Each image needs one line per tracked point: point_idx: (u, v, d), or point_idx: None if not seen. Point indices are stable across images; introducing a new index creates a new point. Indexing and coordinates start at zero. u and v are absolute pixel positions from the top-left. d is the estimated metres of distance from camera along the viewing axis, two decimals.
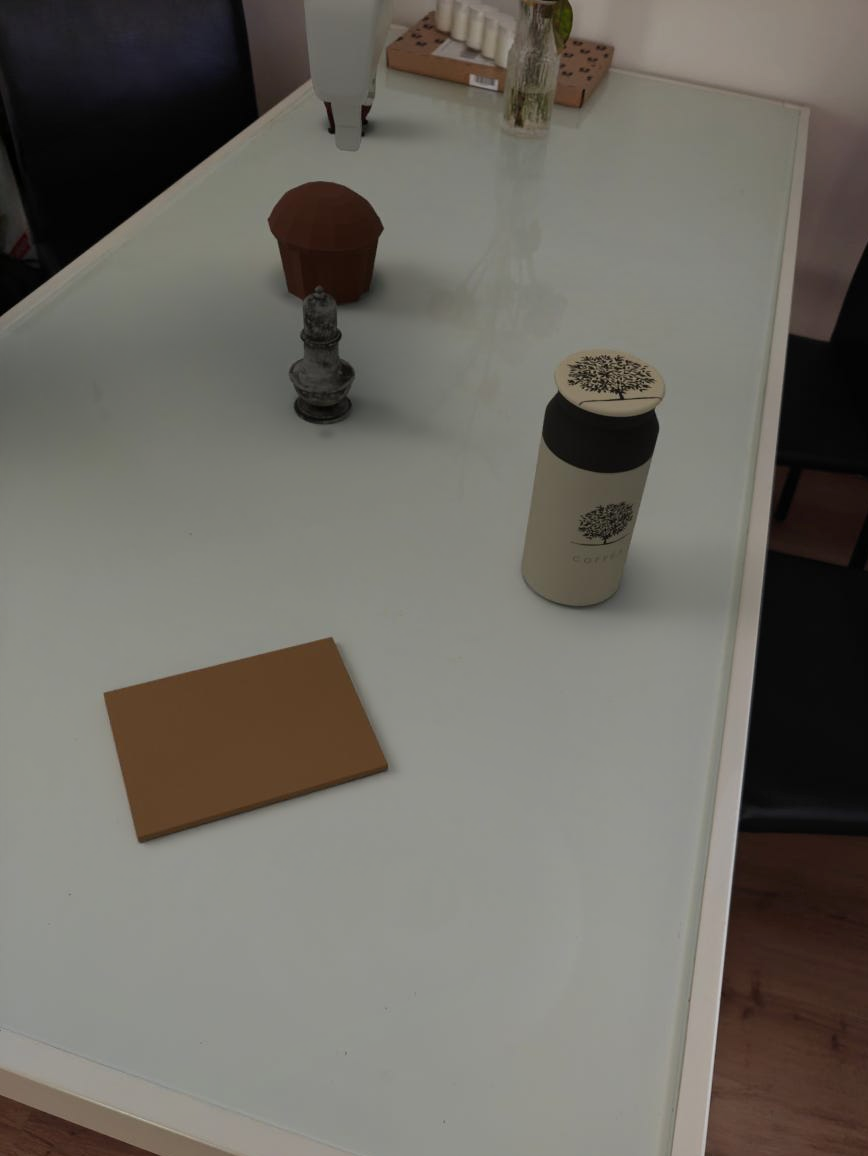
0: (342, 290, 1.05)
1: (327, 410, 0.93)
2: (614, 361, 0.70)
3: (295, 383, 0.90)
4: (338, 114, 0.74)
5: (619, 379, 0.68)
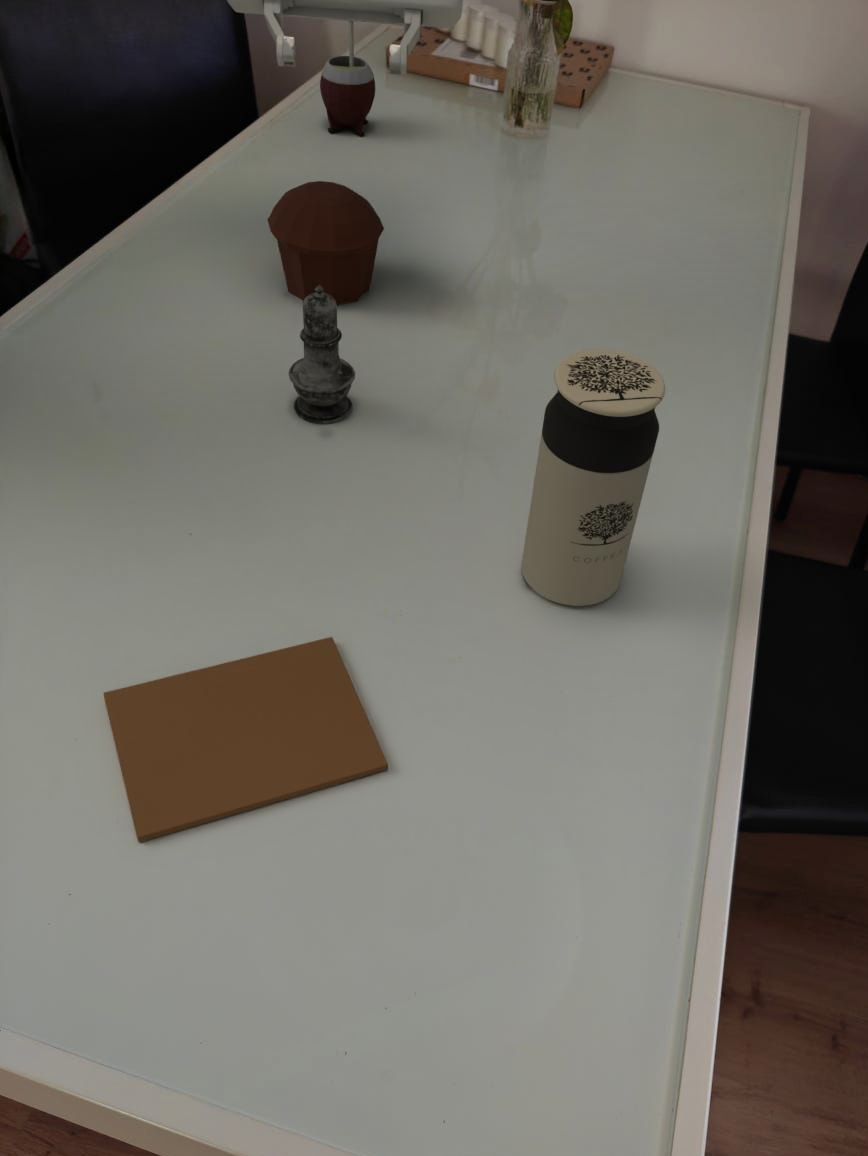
0: (342, 290, 1.05)
1: (327, 410, 0.93)
2: (614, 361, 0.70)
3: (295, 383, 0.90)
4: (415, 35, 0.87)
5: (619, 379, 0.68)
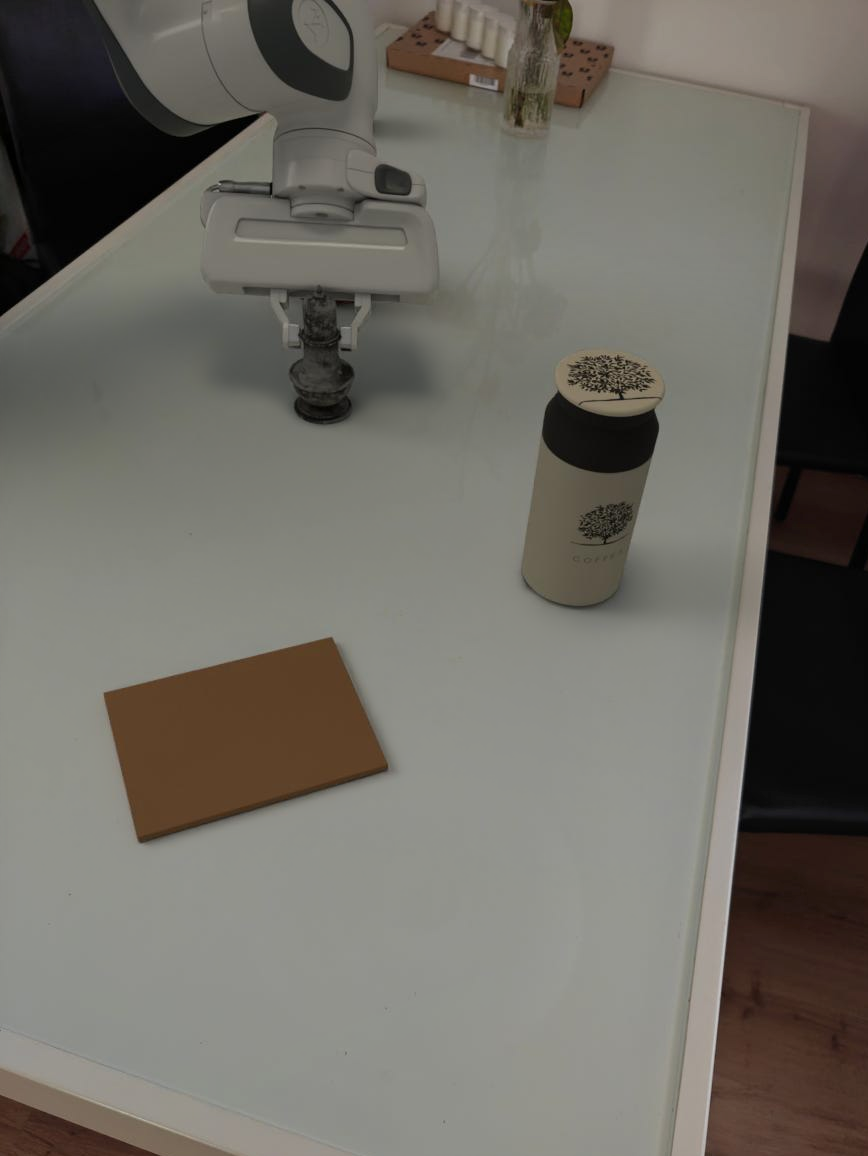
0: None
1: (327, 410, 0.93)
2: (614, 361, 0.70)
3: (295, 383, 0.90)
4: (366, 316, 0.88)
5: (619, 379, 0.68)
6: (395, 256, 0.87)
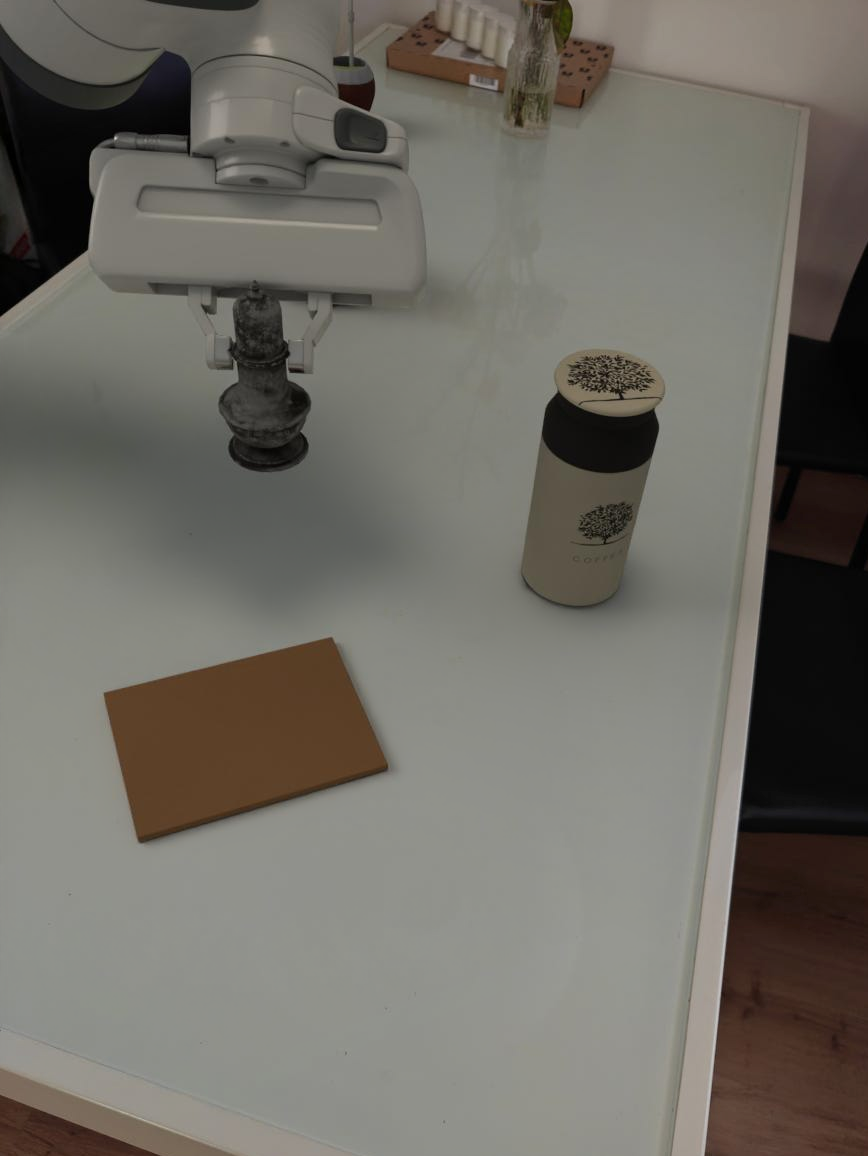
0: None
1: (273, 453, 0.67)
2: (614, 361, 0.70)
3: (226, 417, 0.64)
4: (324, 325, 0.63)
5: (619, 379, 0.68)
6: (364, 240, 0.62)
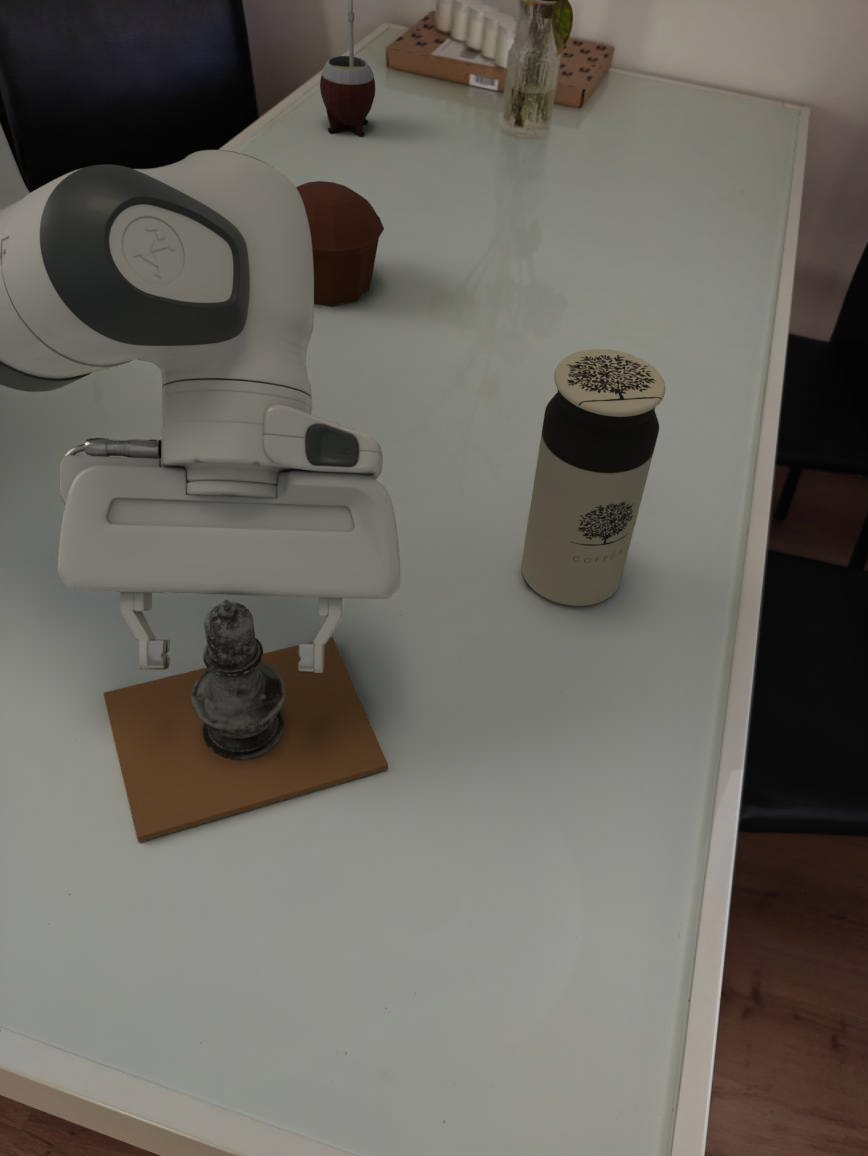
0: (342, 290, 1.05)
1: (247, 738, 0.67)
2: (614, 361, 0.70)
3: (199, 715, 0.64)
4: (335, 627, 0.63)
5: (619, 379, 0.68)
6: (336, 547, 0.61)
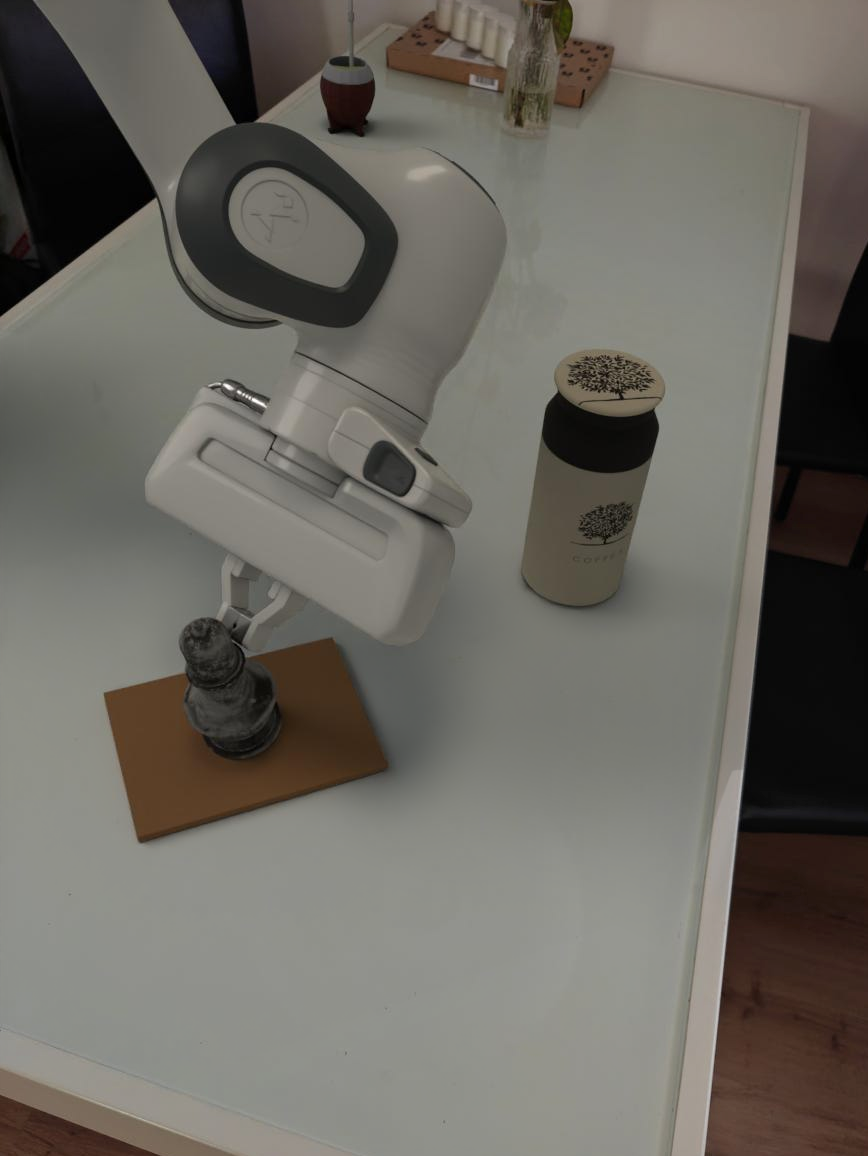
0: None
1: None
2: (614, 361, 0.70)
3: (191, 723, 0.64)
4: (278, 614, 0.61)
5: (619, 379, 0.68)
6: (359, 569, 0.58)
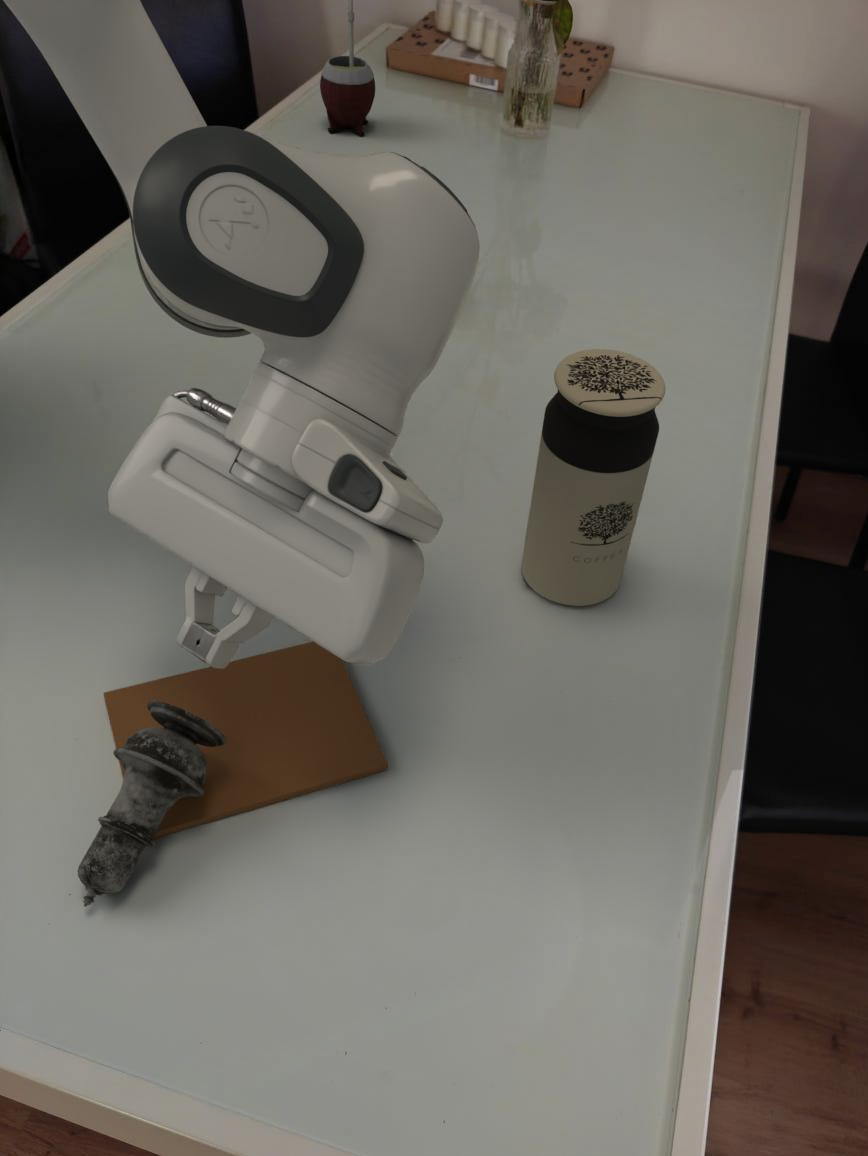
0: None
1: (203, 739, 0.63)
2: (614, 361, 0.70)
3: None
4: (243, 631, 0.59)
5: (619, 379, 0.68)
6: (324, 586, 0.56)
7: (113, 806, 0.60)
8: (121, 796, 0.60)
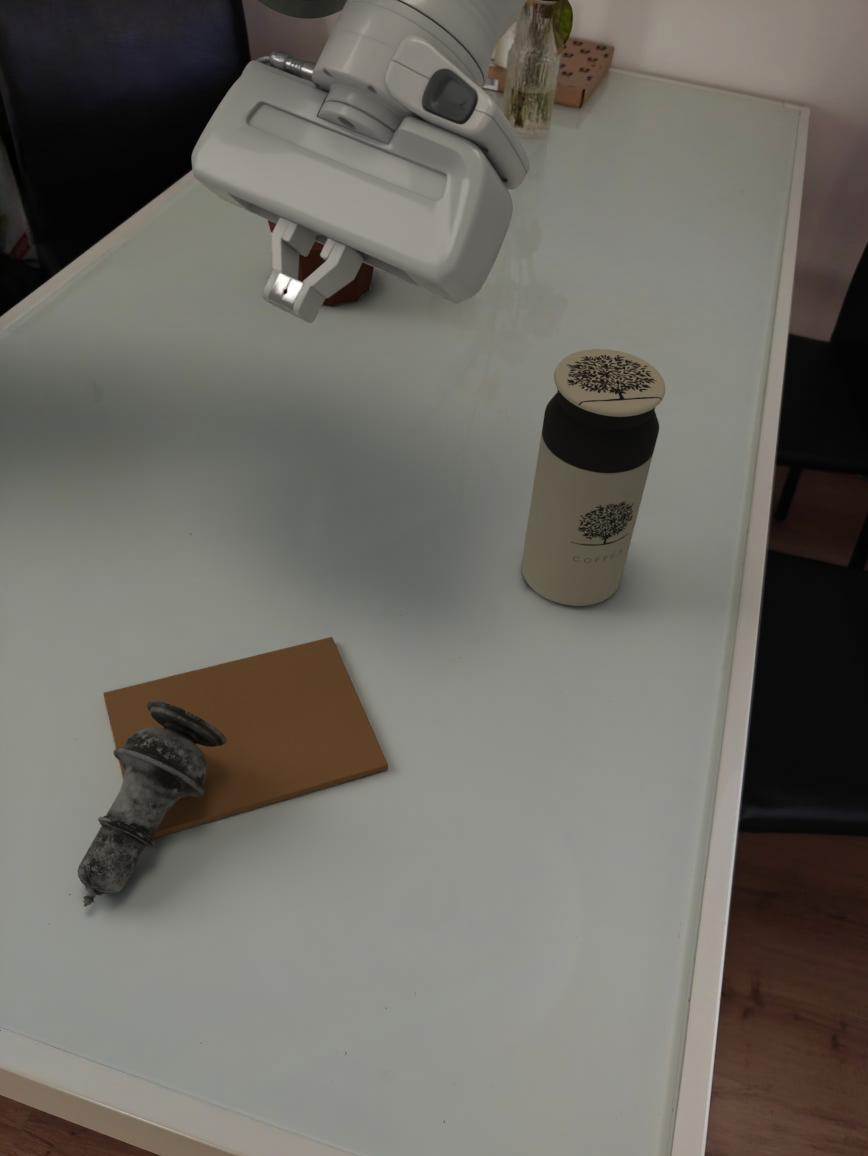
0: (342, 290, 1.05)
1: (203, 739, 0.63)
2: (614, 361, 0.70)
3: None
4: (331, 276, 0.59)
5: (619, 379, 0.68)
6: (416, 212, 0.56)
7: (113, 806, 0.60)
8: (121, 796, 0.60)
